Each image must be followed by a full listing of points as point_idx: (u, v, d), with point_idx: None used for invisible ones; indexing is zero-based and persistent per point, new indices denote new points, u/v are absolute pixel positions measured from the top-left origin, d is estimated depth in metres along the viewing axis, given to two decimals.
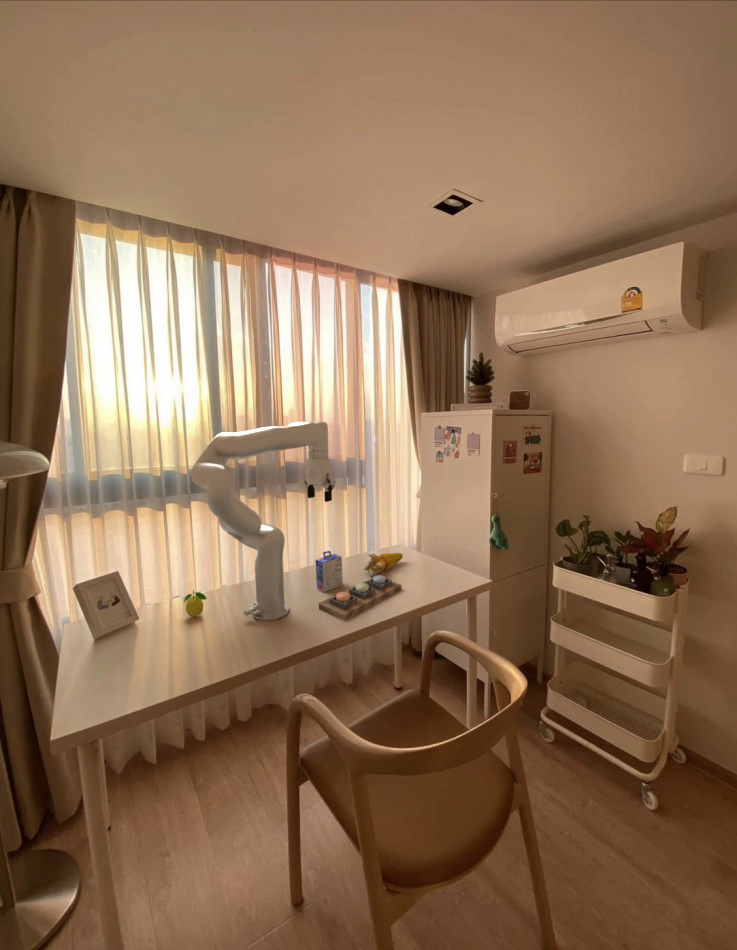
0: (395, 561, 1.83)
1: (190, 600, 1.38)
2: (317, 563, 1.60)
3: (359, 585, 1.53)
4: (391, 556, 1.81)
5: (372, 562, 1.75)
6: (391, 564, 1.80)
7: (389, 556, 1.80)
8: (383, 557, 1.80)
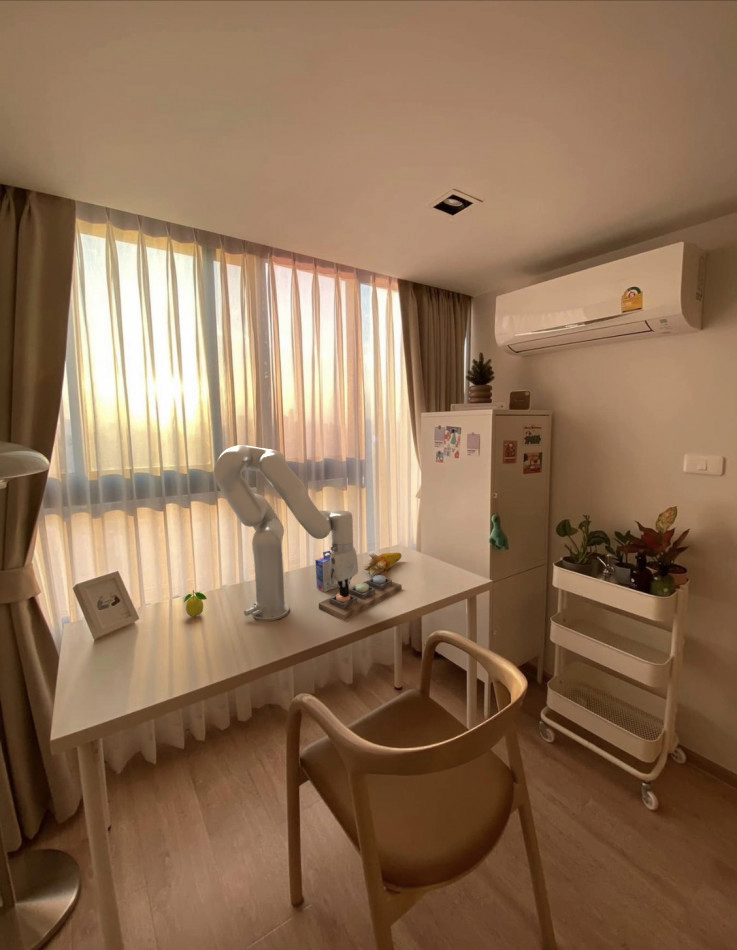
0: (395, 561, 1.83)
1: (190, 600, 1.38)
2: (317, 563, 1.60)
3: (359, 585, 1.53)
4: (390, 556, 1.81)
5: (373, 562, 1.75)
6: (391, 564, 1.80)
7: (389, 556, 1.80)
8: (383, 557, 1.80)
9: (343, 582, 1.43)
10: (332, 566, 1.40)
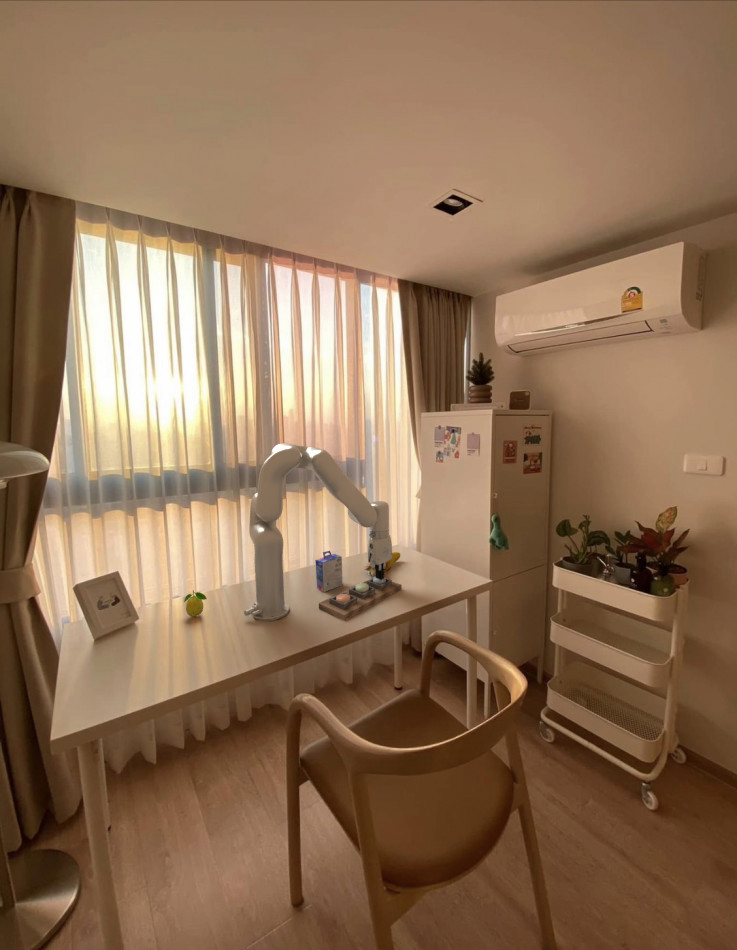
0: (394, 560, 1.84)
1: (190, 600, 1.38)
2: (317, 563, 1.60)
3: (359, 585, 1.53)
4: None
5: None
6: (391, 563, 1.80)
7: None
8: None
9: (379, 566, 1.57)
10: (370, 551, 1.55)
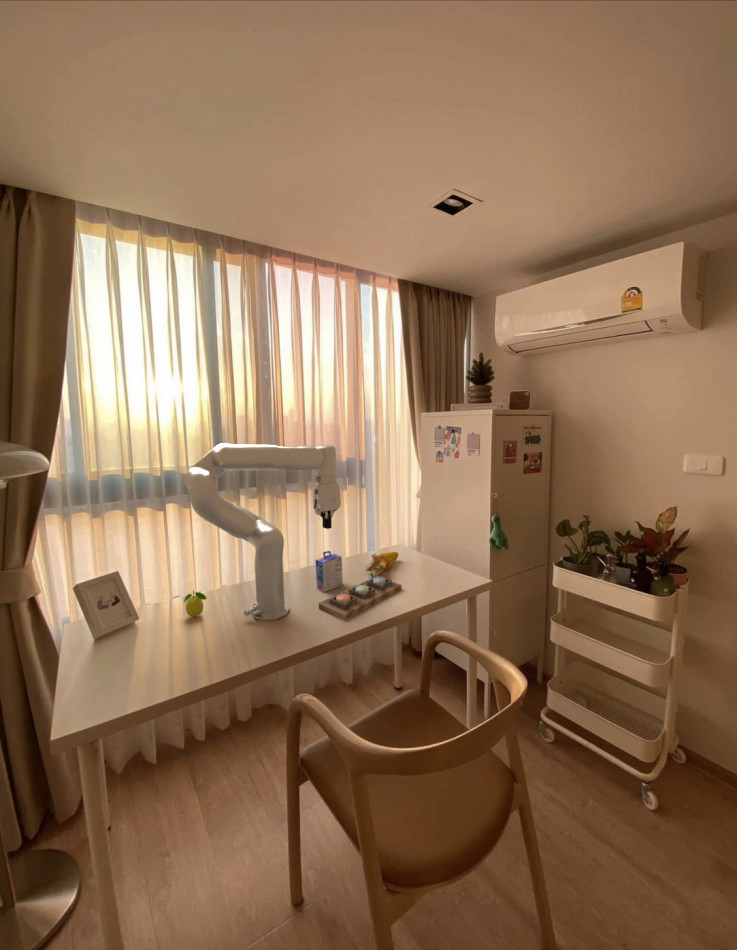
0: (393, 560, 1.84)
1: (190, 600, 1.38)
2: (317, 563, 1.60)
3: (359, 587, 1.53)
4: (390, 555, 1.82)
5: (374, 562, 1.75)
6: (391, 563, 1.81)
7: (388, 555, 1.81)
8: (383, 557, 1.80)
9: (326, 514, 1.48)
10: (315, 497, 1.46)
